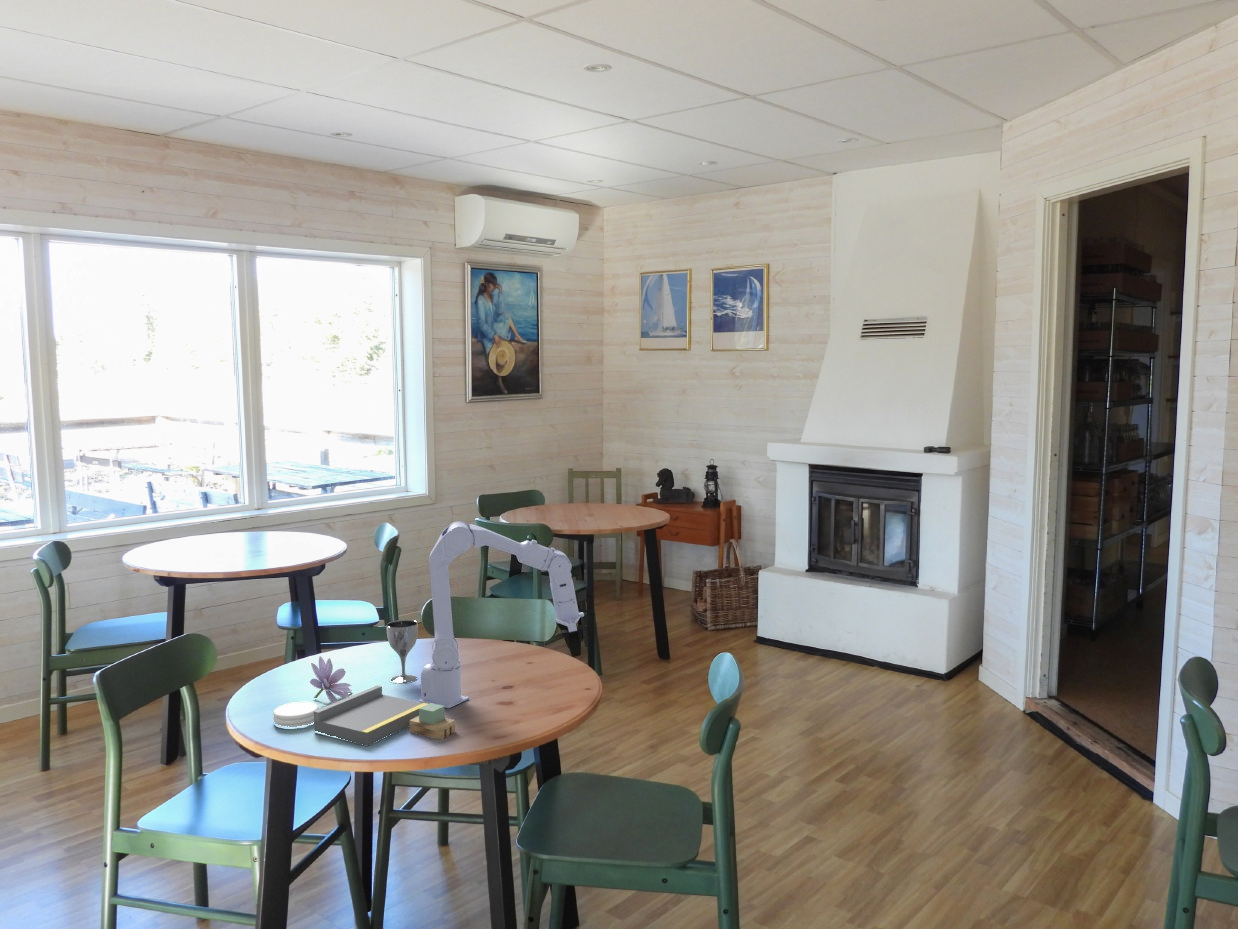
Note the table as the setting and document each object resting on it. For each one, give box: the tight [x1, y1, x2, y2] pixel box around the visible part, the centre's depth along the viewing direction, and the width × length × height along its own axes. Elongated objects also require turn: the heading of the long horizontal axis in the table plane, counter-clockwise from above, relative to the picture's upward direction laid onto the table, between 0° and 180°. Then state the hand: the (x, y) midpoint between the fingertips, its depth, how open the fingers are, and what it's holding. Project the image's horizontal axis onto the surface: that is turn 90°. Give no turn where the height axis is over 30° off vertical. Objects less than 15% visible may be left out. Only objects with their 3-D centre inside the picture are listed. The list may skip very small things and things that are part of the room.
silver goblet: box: [386, 619, 419, 684], centre depth 246 cm, size 8×8×15 cm
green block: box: [419, 703, 446, 725], centre depth 210 cm, size 4×4×3 cm
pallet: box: [408, 716, 456, 740], centre depth 210 cm, size 9×5×3 cm, turn 61°
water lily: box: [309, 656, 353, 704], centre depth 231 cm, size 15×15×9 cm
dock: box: [313, 685, 427, 746], centre depth 215 cm, size 16×20×5 cm
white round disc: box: [272, 701, 320, 727], centre depth 217 cm, size 10×10×4 cm
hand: (574, 651), depth 235 cm, fingers open, 7 cm apart
